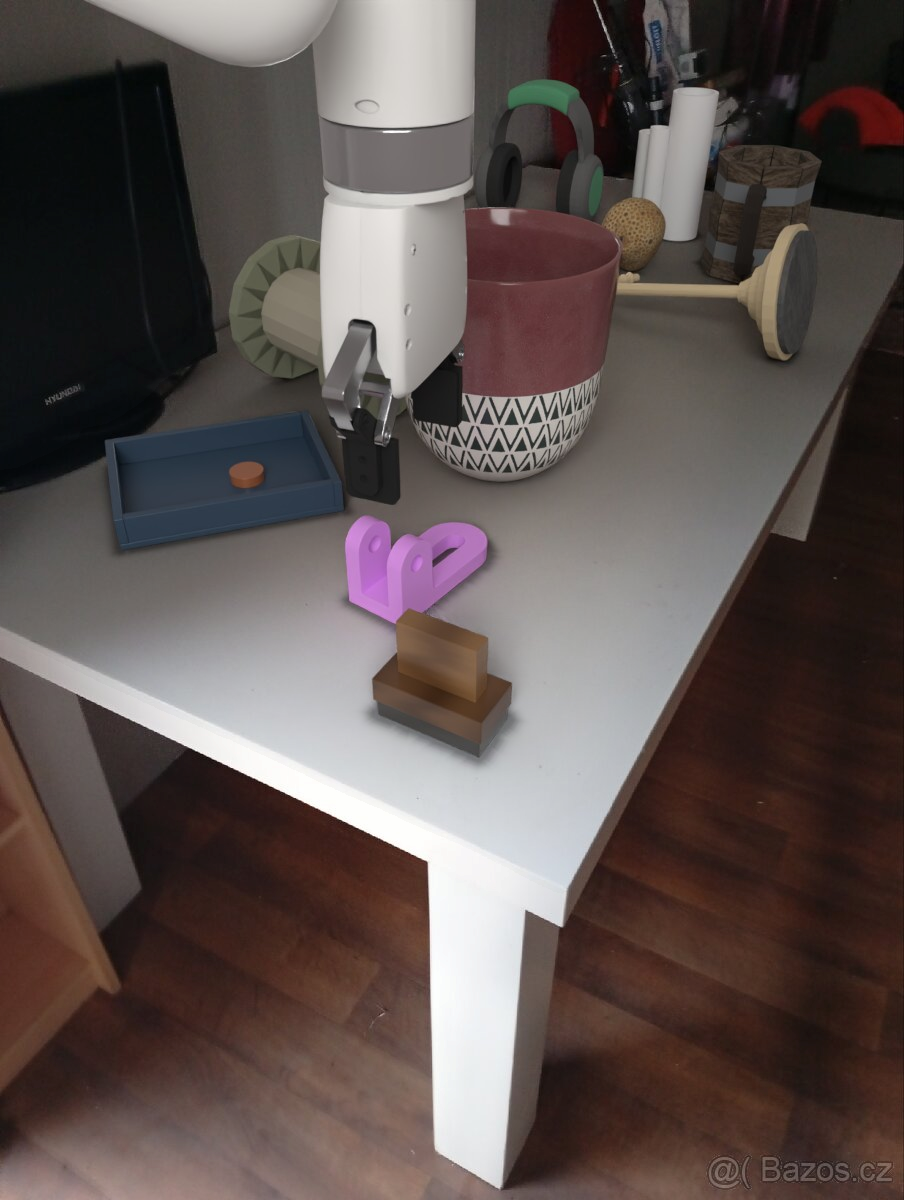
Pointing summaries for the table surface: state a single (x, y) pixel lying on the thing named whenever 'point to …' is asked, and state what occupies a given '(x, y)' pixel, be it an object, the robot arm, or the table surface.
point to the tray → (218, 478)
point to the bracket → (408, 565)
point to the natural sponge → (636, 230)
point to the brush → (442, 684)
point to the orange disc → (246, 474)
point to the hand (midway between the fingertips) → (407, 457)
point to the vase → (678, 161)
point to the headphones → (504, 162)
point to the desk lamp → (762, 291)
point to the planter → (528, 341)
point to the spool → (285, 313)
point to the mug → (755, 205)
